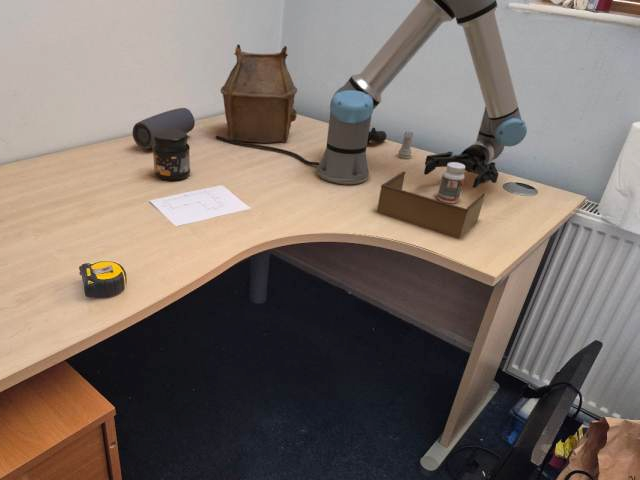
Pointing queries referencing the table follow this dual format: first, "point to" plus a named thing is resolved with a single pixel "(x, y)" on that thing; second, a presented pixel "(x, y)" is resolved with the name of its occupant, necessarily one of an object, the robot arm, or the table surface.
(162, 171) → the supplement container
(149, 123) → the bluetooth speaker
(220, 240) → the table surface
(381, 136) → the gaming controller
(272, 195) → the table surface
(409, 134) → the rook chess piece
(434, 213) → the brown u-shaped partition wall
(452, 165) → the pill bottle
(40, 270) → the table surface
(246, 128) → the hut
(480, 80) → the robot arm
